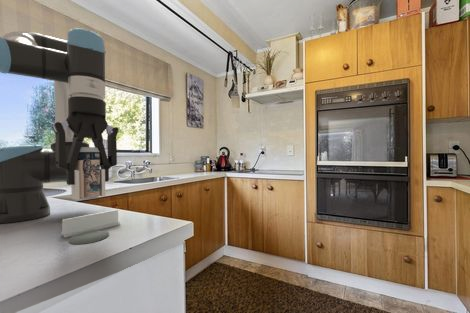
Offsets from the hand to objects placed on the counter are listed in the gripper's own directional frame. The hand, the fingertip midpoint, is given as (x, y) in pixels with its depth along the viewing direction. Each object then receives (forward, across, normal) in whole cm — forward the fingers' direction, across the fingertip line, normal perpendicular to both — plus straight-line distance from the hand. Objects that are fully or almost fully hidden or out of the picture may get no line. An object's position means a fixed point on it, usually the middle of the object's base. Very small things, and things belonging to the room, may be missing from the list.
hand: (89, 196), depth 55 cm
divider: (+10, +3, +7) cm, 12 cm away
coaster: (+10, 0, 0) cm, 10 cm away
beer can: (+1, 0, 0) cm, 1 cm away
